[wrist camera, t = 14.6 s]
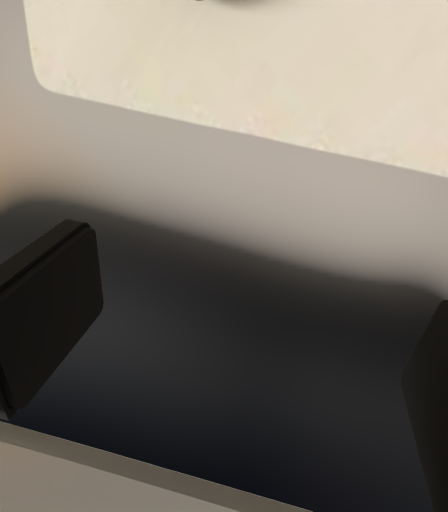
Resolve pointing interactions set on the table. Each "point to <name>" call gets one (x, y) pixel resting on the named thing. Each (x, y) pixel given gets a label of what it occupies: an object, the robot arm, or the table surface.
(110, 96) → the table surface
